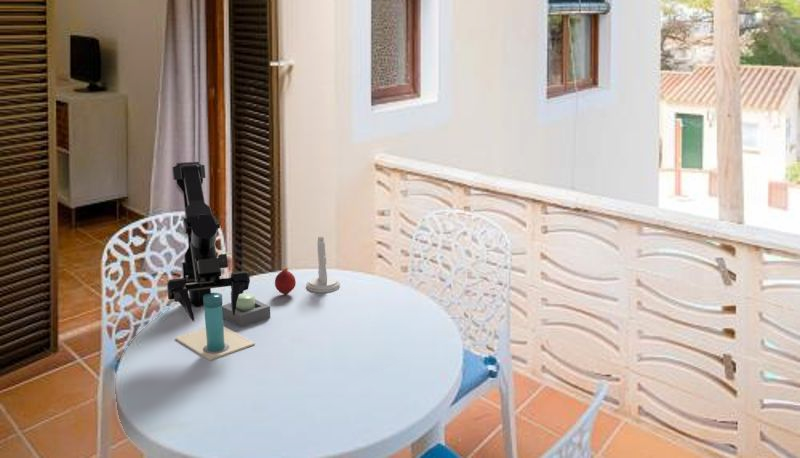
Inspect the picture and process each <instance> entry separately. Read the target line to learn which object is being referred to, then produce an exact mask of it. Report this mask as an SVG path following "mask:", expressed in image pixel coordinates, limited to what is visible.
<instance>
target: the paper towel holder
mask: <svg viewBox="0 0 800 458" xmlns="http://www.w3.org/2000/svg"><path fill="white" fill-rule="evenodd" d="M325 243H326V242H325V240H324V236H323V235H319V236H318V237H317V258H318V259H317V260H318V271H317V272H318V276H314V277H312V278H310V279H309V280H308V281H307V282H306V284H305V286H306V290H308V291H310V292H315V293H330V292H334V291H337V290H339V289H340V287H341V284H340V281H339V280H338V278H336V277H333V276H329V275H328V273H327V255H326V254H327V253H326V244H325Z"/></svg>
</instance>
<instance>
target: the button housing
mask: <svg viewBox="0 0 800 458" xmlns="http://www.w3.org/2000/svg"><path fill="white" fill-rule="evenodd" d="M222 311H223V319H226V320H227V321H230V322H231V323H233V324H235V325H236V326H239V327H243V326H248V325H250V324H253V323H256V322H260V321H263V320H265V319H269V318H271V306H270V305H268V304H267V303H264V302H261V301H259V300H257V299H255V309H251V310H248V311H245V312H240V311H238V310H235V316H233V315H232V307H231V302H229V303H226V304H222Z"/></svg>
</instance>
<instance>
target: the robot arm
mask: <svg viewBox="0 0 800 458" xmlns="http://www.w3.org/2000/svg"><path fill="white" fill-rule="evenodd" d="M171 174H172V180H174V181H175V187H176V188H177V190H178V191H179V192H180V194H181V195H182V198H183V210H184V216H185V217H184V218H182V224H183V231H184V234H186V237H187V244H188V245H187V247H188V248H187V249H186V251H185V253H184V255H183V262H181V276H182V277H181V278H173V279H172V278H171V279H170V278H169V279H168V281H167V282H166V288H167V291H166V292H167V299H168V300H170V301H171V300H173V302H175V303H177V302H178V303H179V304H180V305H181V306H182V308H183V309H184V310H185V311H186V312H185V313H187V315H188V317H189V318H190V320H191V322H195V315H194V311H193V307H200V306H204V303H203V296H204V295H205V294H208V293H212V290H211V289H216V288H223V287H224V288H225V287H230V289H231V291H230V303H231V307H232V315H233V316H235V310H236V303H237V299H238V296H239V295H241V294H244V291H248V289H249V286H250V283H251V280H250V279H251V278H250V274H249V272H248V271H247V270H244V271H243V270H242V271H234V272H233V271H232V272H231V274H230V277H226V278H221V276H222V269H227V268H228V267H229V260H228V255H227V253H223V254H222V253H221V254H218V255H217V251H216V244H217V243H216V242H217V236H218V235H217V234H218V232H219V229H221V225H220V222H219V220H218V219H217V218H216V216H215V215H213V212H212V208H211V206H210V205H208V204H206V202H205V198H204V192H203V183H204V179H206V168H205V164H200V162H199V161H187V162H176V163H175V166H171ZM192 306H193V307H192Z"/></svg>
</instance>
